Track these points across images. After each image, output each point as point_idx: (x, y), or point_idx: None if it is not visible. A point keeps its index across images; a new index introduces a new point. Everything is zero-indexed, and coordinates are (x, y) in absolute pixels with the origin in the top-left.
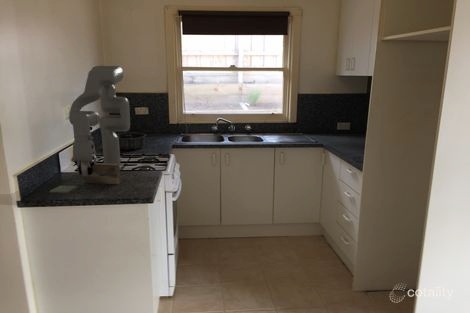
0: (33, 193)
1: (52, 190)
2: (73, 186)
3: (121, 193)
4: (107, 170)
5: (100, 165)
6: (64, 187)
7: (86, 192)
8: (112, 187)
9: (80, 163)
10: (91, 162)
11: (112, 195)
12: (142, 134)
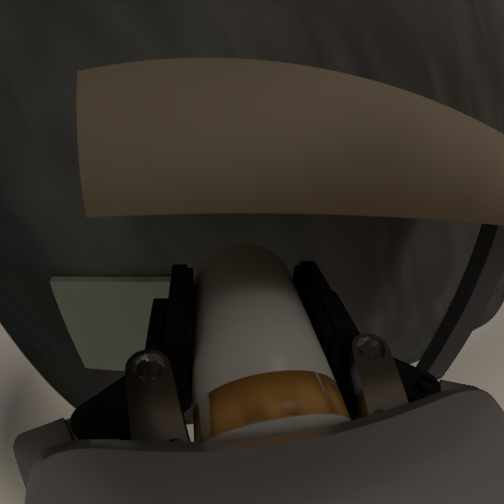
0: (44, 373)
1: (92, 362)
2: (151, 291)
3: (445, 311)
4: (474, 302)
5: (450, 215)
6: (108, 316)
7: None
8: (416, 239)
9: (157, 401)
10: (385, 397)
11: (415, 339)
12: None
